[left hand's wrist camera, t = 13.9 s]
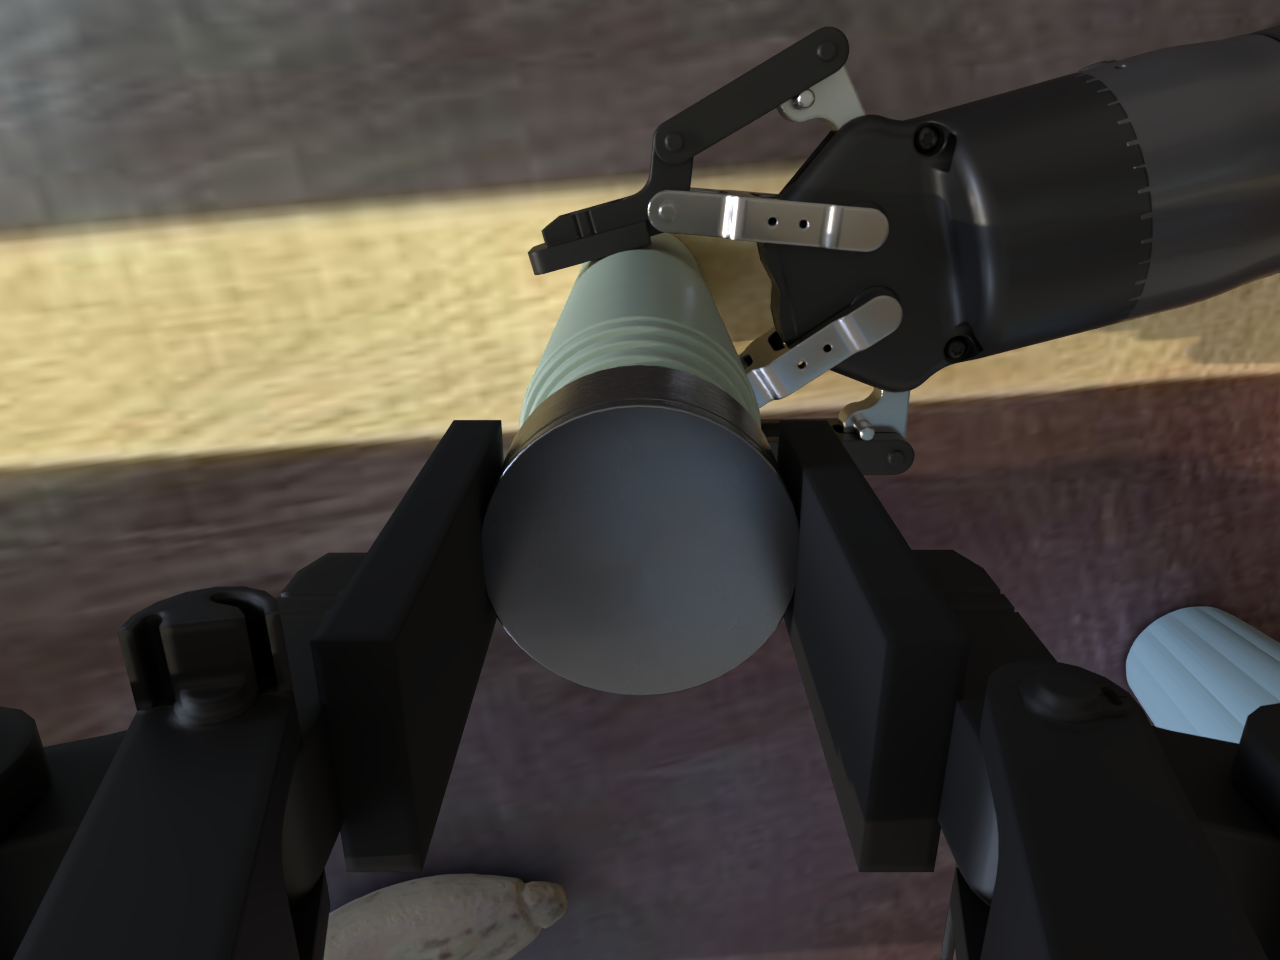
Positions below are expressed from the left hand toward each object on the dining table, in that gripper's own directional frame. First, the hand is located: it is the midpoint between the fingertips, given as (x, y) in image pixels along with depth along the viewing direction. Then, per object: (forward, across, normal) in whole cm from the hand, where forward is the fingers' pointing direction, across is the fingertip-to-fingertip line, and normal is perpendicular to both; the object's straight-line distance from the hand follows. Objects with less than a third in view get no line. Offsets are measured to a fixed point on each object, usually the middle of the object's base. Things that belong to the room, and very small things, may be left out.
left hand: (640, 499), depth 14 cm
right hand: (+15, -2, -1) cm, 15 cm away
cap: (-2, 0, 0) cm, 2 cm away
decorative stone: (+21, -11, -32) cm, 40 cm away
